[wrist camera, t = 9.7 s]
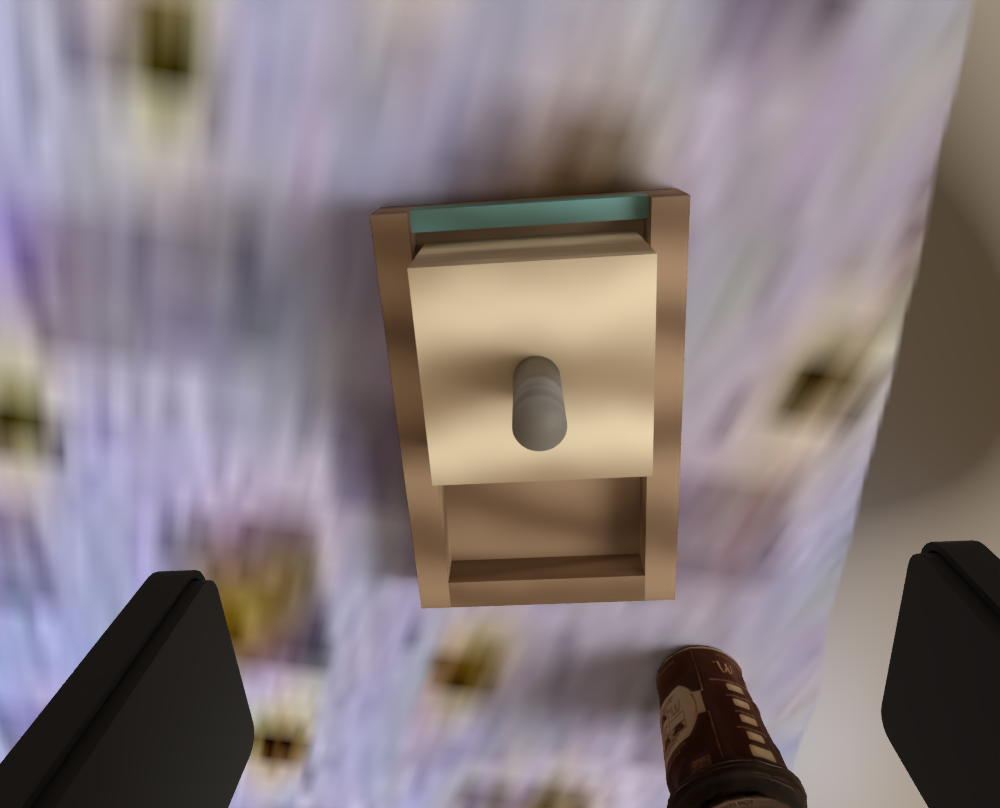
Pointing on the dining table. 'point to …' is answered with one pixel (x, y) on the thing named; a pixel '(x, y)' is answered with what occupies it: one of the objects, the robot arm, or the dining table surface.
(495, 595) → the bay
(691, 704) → the coffee cup
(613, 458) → the square knob plate
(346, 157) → the dining table surface
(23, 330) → the dining table surface
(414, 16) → the dining table surface
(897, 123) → the dining table surface
